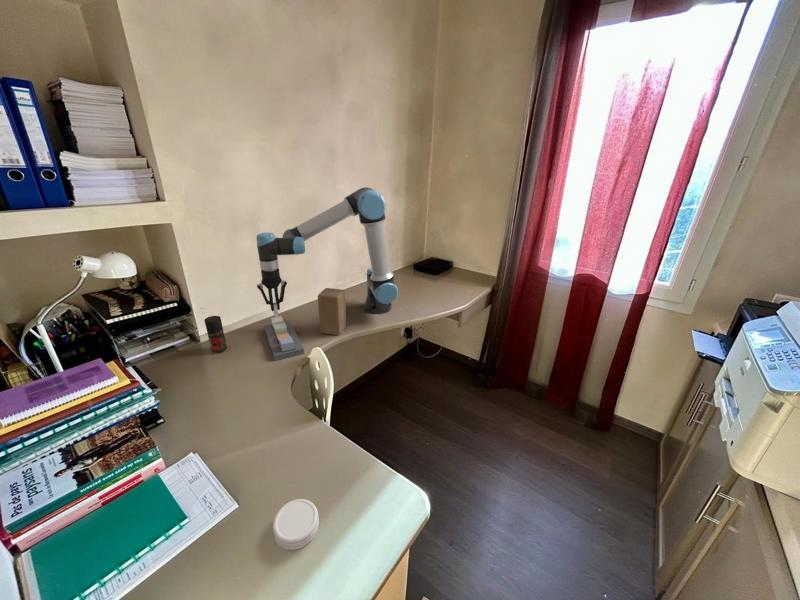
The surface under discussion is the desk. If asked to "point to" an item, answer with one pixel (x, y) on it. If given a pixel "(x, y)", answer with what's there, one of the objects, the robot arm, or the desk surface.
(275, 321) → the key grey
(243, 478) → the desk surface
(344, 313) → the wooden block
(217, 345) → the deodorant
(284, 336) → the key terracotta
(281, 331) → the key sage
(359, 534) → the desk surface
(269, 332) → the keypad base
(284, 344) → the key slate
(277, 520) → the white round container
